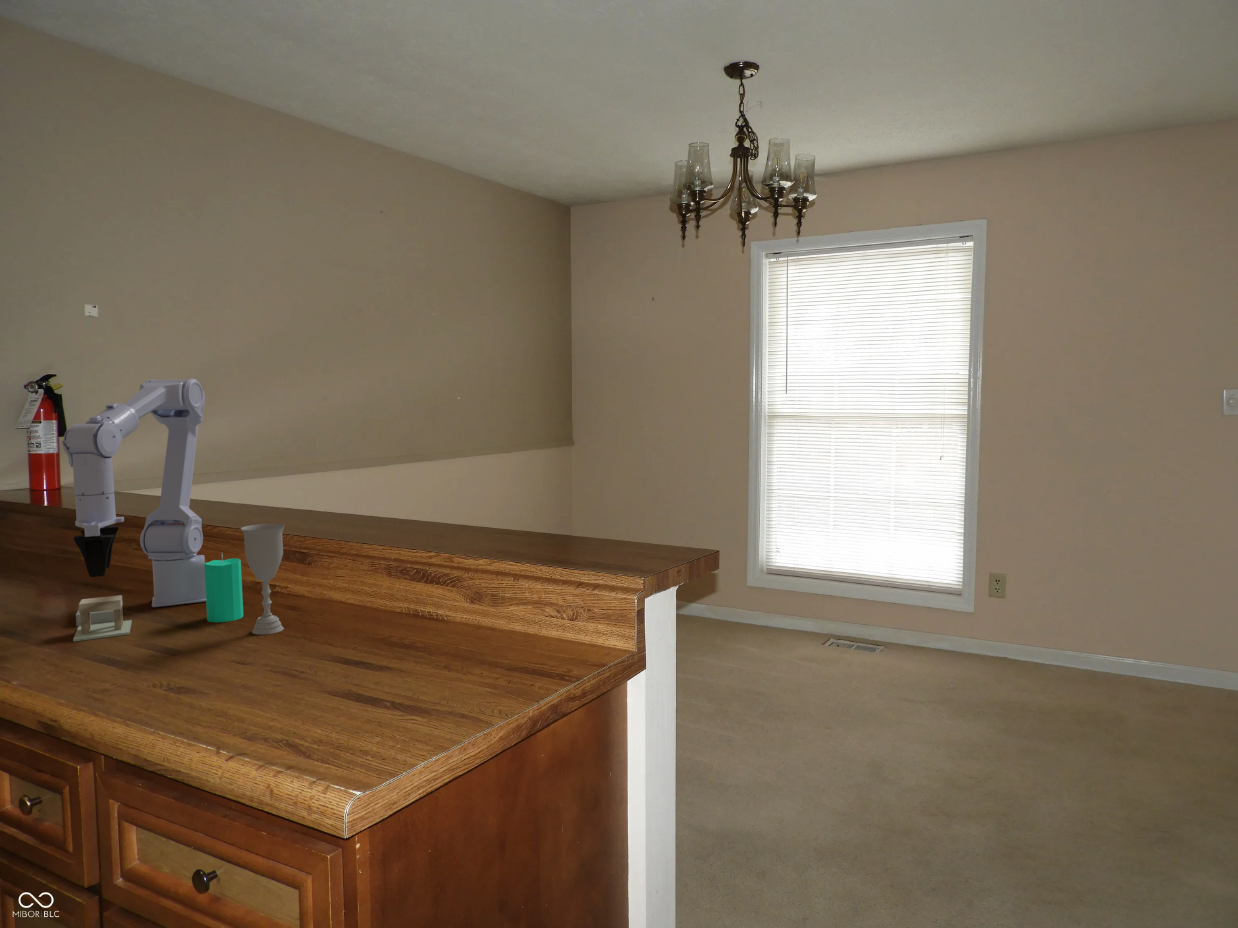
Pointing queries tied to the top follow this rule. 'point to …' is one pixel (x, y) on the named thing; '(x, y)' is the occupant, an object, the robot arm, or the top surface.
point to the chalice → (264, 567)
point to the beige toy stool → (100, 605)
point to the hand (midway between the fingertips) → (99, 572)
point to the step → (97, 617)
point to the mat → (103, 631)
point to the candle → (223, 590)
